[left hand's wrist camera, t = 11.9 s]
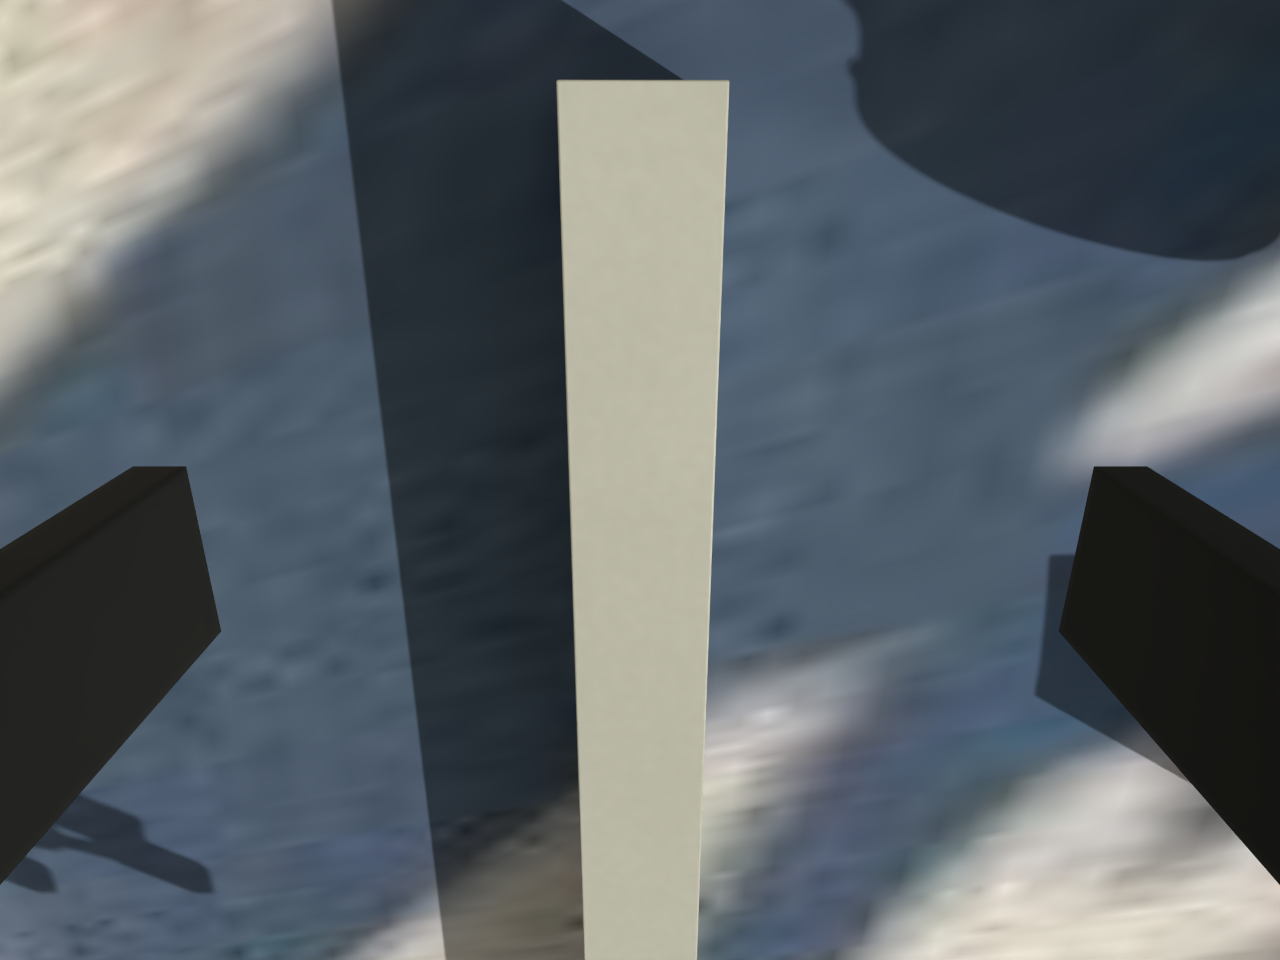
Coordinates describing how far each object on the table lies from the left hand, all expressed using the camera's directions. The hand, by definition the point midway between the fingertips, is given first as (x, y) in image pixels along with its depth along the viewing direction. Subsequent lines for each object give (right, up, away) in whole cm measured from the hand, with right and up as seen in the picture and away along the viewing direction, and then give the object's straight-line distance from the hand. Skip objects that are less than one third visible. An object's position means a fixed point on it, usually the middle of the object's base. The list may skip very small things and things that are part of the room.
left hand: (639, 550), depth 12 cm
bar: (0, -14, +30) cm, 34 cm away
